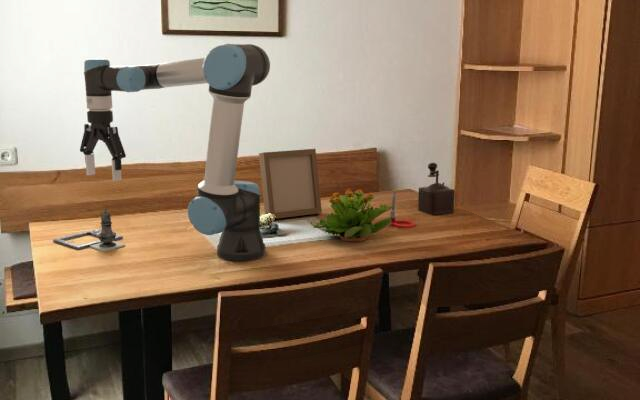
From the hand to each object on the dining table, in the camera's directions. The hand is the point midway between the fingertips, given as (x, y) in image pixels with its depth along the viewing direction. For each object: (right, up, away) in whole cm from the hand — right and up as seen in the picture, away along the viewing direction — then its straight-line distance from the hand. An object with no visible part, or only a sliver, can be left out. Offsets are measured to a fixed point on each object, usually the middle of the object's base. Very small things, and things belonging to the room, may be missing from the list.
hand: (103, 177), depth 220 cm
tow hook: (+98, -16, +36) cm, 106 cm away
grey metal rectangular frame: (-9, -20, +12) cm, 25 cm away
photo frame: (+56, -13, +49) cm, 75 cm away
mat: (0, -22, +5) cm, 23 cm away
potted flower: (+80, -20, +18) cm, 85 cm away
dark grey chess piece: (0, -22, +5) cm, 22 cm away
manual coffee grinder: (+113, -11, +59) cm, 128 cm away
